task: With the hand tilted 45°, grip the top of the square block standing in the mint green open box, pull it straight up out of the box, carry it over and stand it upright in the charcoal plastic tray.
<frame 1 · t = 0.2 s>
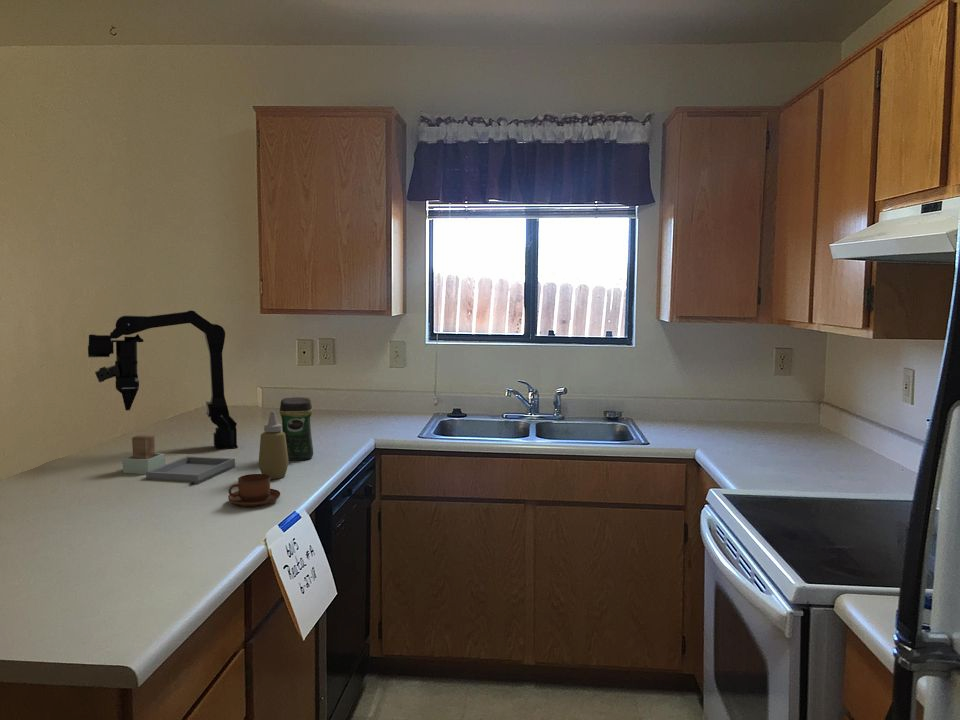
hand: (127, 408, 219), 14 cm above the worktop, tool pointing down, fingers open, 9 cm apart
square block: (144, 469, 201), point 1 cm above the worktop, touching mint green open box
mint green open box: (144, 472, 201), on the worktop
tray: (192, 473, 199), on the worktop
coffee jar: (296, 458, 219), on the worktop
cup and saucer: (254, 503, 174), on the worktop
squeeze bottle: (273, 477, 197), on the worktop
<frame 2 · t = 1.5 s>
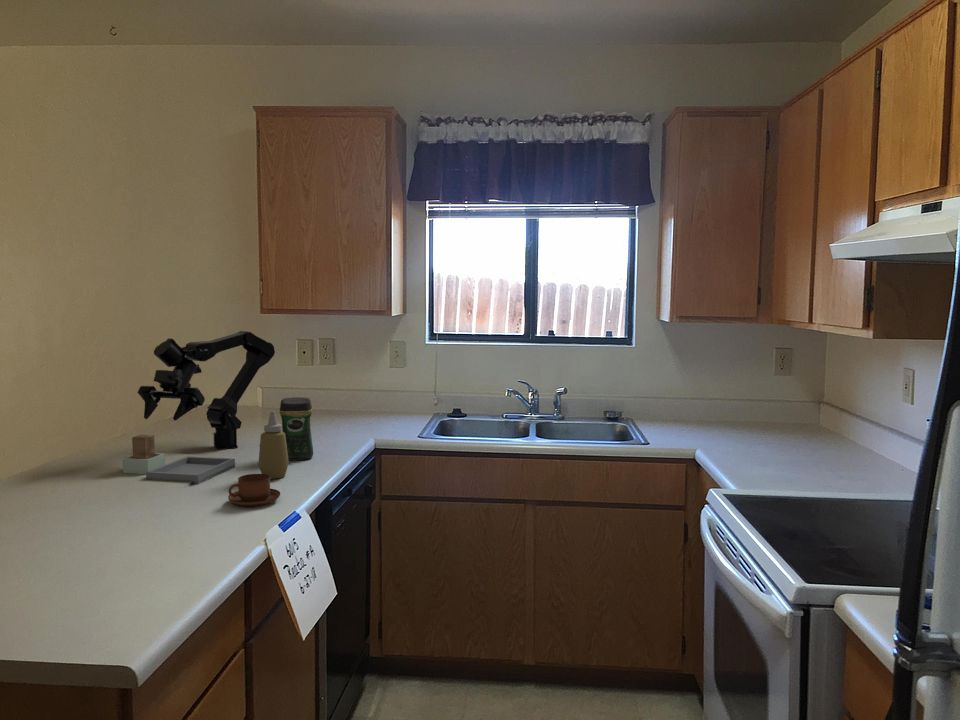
hand: (159, 419, 207), 14 cm above the worktop, tool tilted 45°, fingers open, 9 cm apart
nothing on the worktop moved.
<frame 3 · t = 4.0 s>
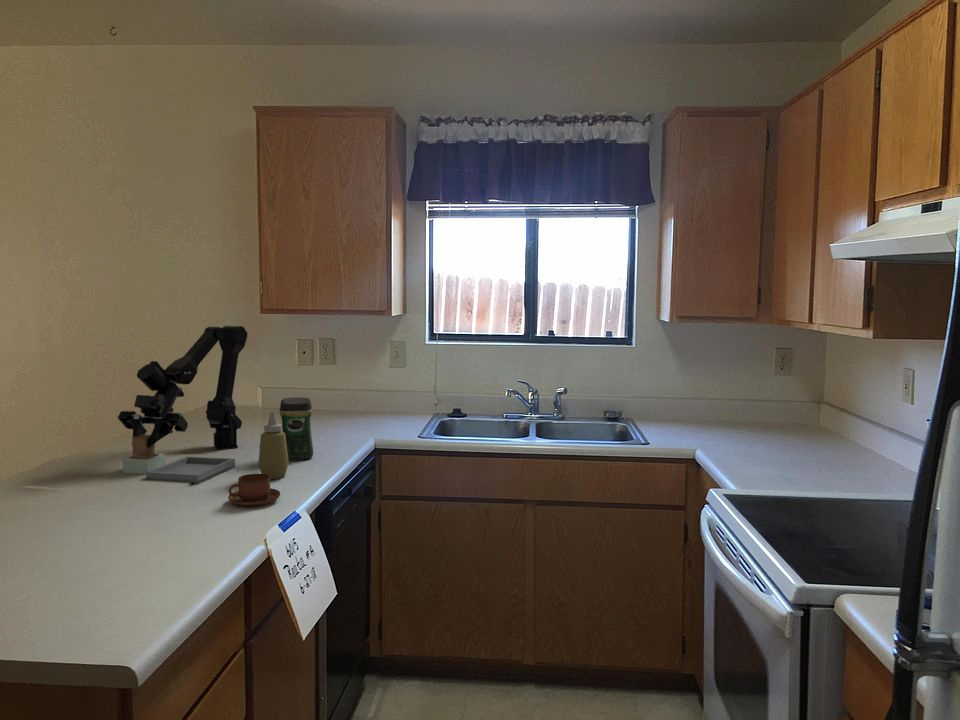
hand: (140, 446, 198), 8 cm above the worktop, tool tilted 45°, fingers closed on square block, 4 cm apart
square block: (144, 469, 201), point 1 cm above the worktop, touching mint green open box, gripper
everything else where it was.
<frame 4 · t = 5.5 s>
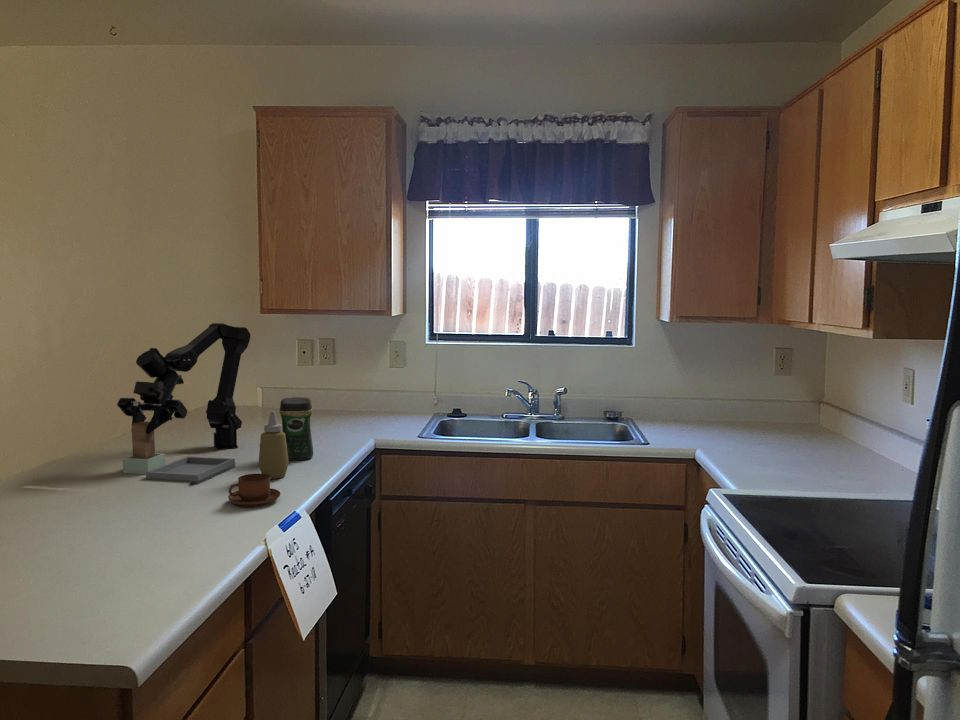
hand: (139, 432, 198), 11 cm above the worktop, tool tilted 45°, fingers closed on square block, 4 cm apart
square block: (144, 456, 200), point 4 cm above the worktop, touching gripper
everything else where it was.
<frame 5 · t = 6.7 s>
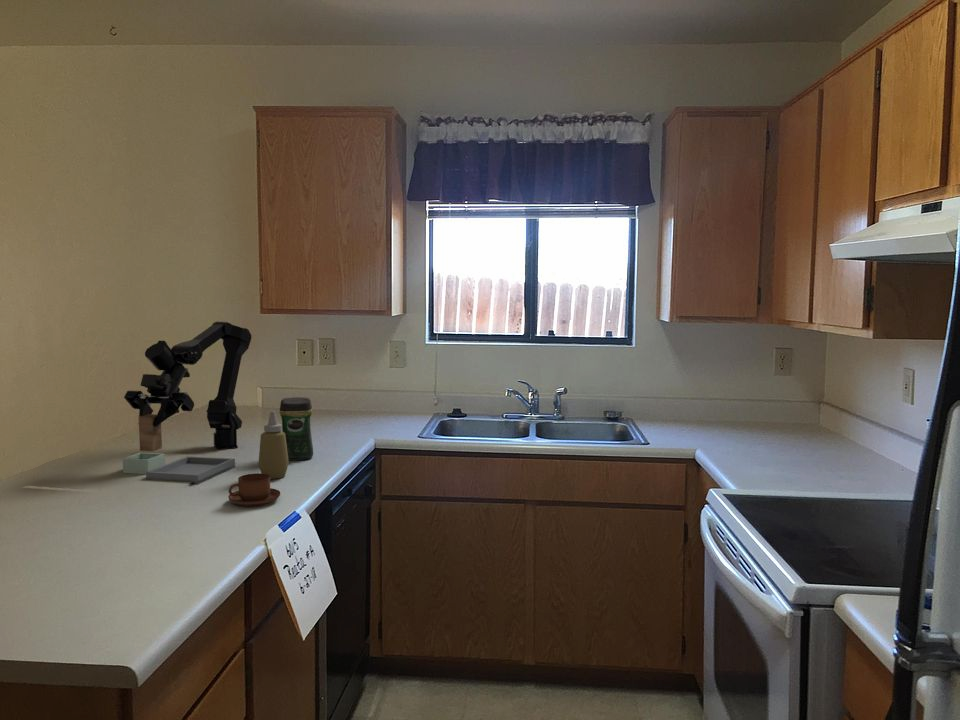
hand: (146, 425, 198), 13 cm above the worktop, tool tilted 45°, fingers closed on square block, 4 cm apart
square block: (151, 449, 200), point 6 cm above the worktop, touching gripper
everything else where it was.
when the fingers open (9 cm above the worktop, at t = 10.0 s): square block drops 1 cm, resting on tray.
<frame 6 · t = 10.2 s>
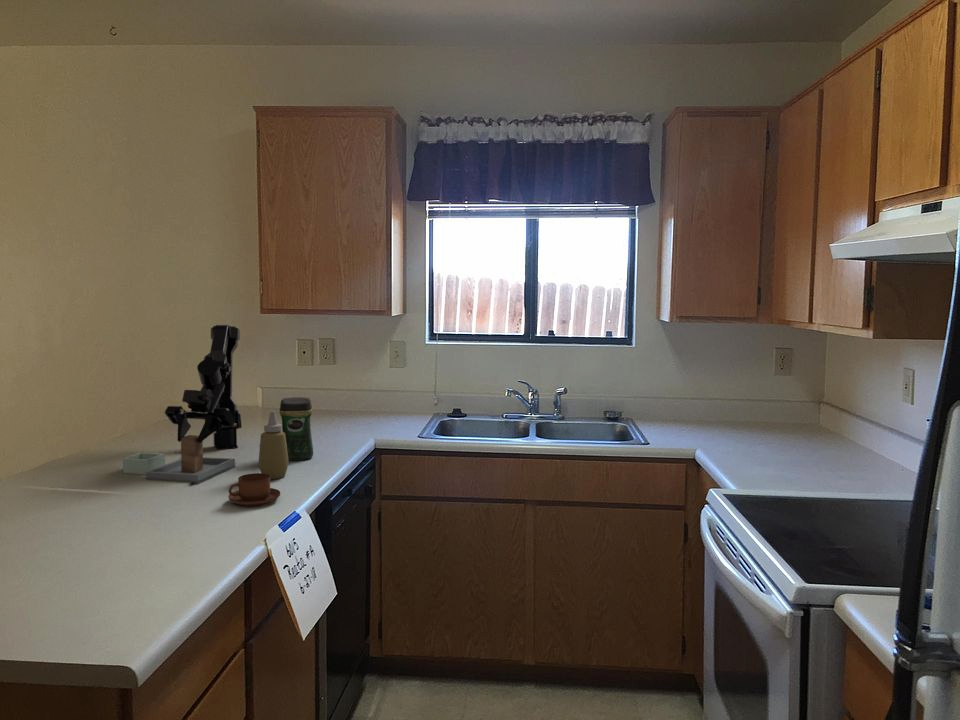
hand: (188, 441, 197), 9 cm above the worktop, tool tilted 45°, fingers open, 6 cm apart
square block: (192, 470, 199), point 1 cm above the worktop, touching tray
everything else where it was.
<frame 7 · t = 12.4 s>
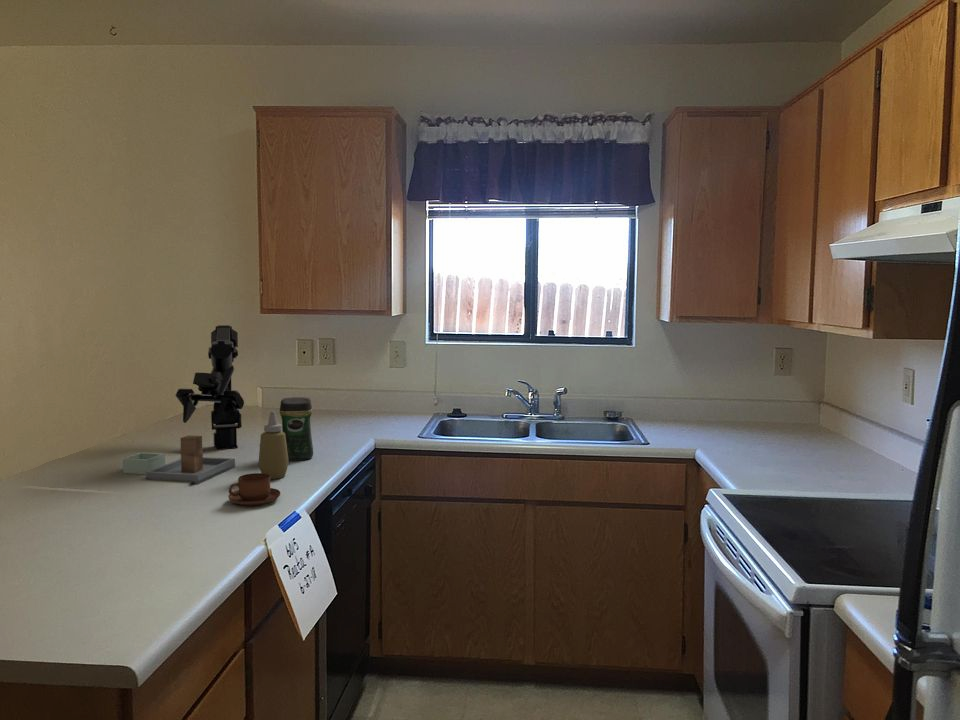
hand: (199, 422, 202), 14 cm above the worktop, tool tilted 45°, fingers open, 9 cm apart
nothing on the worktop moved.
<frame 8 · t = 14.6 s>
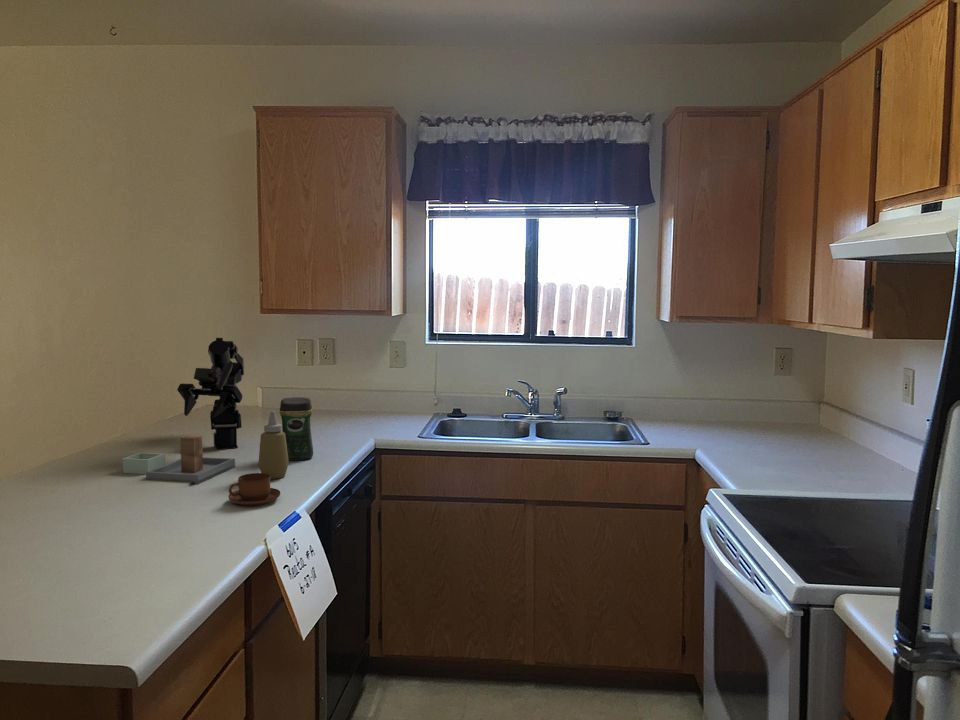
hand: (199, 415, 213), 14 cm above the worktop, tool tilted 45°, fingers open, 9 cm apart
nothing on the worktop moved.
at the end: square block inside the target area on the tray (0.0 cm from its centre), point 0.8 cm above the tray's base; square block tilted 0°; square block moved 13.9 cm from its start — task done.
